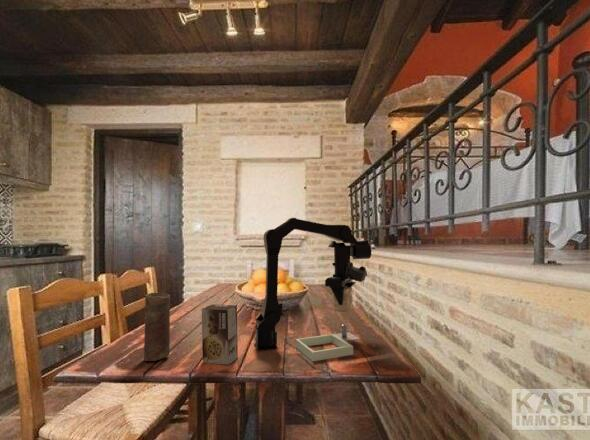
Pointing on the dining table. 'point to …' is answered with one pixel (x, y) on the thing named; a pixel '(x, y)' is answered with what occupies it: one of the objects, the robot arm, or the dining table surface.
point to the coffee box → (219, 334)
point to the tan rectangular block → (344, 301)
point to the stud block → (345, 334)
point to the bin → (342, 350)
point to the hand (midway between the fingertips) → (343, 303)
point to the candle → (157, 326)
